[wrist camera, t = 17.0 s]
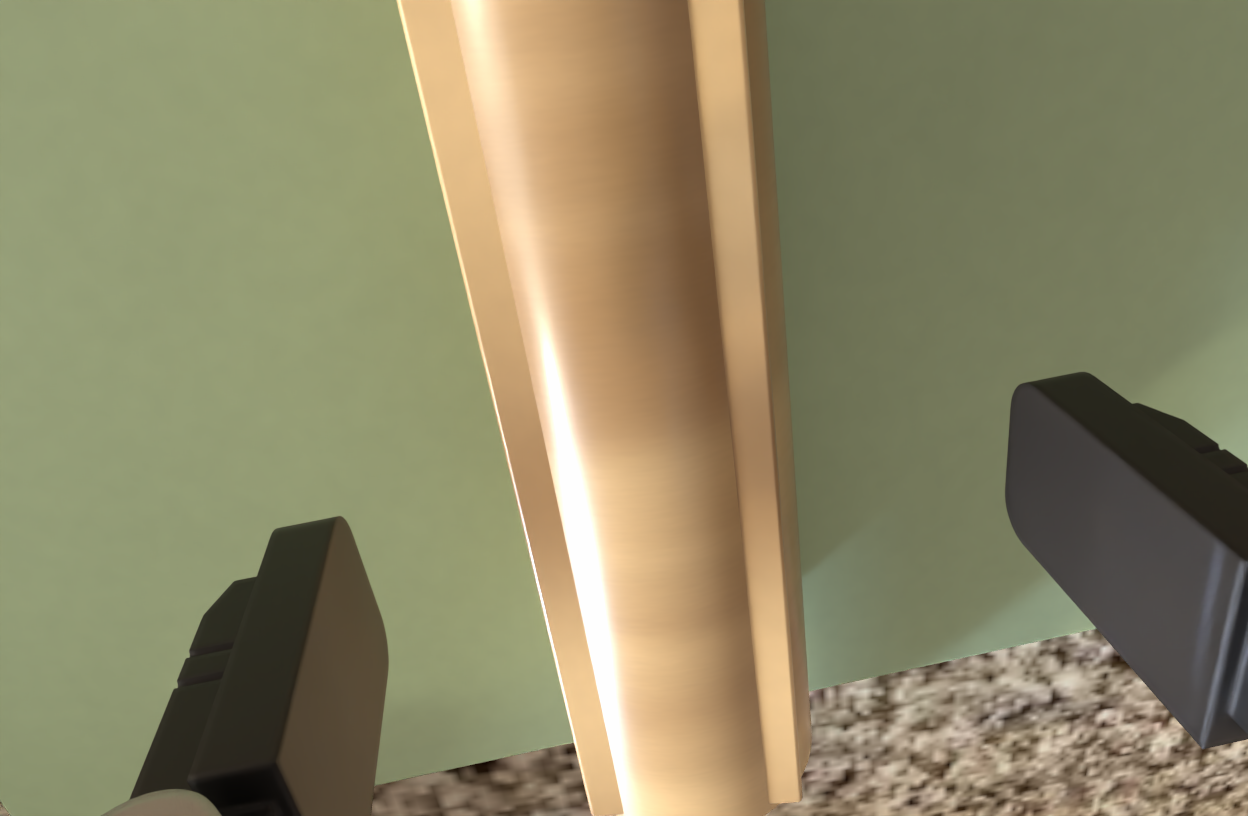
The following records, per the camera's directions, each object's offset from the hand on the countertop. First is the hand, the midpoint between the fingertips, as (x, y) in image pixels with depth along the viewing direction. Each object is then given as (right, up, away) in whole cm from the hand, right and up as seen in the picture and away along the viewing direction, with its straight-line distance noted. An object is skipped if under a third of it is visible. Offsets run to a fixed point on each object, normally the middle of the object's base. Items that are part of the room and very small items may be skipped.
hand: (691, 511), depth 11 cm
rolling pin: (-1, +3, +5) cm, 6 cm away
